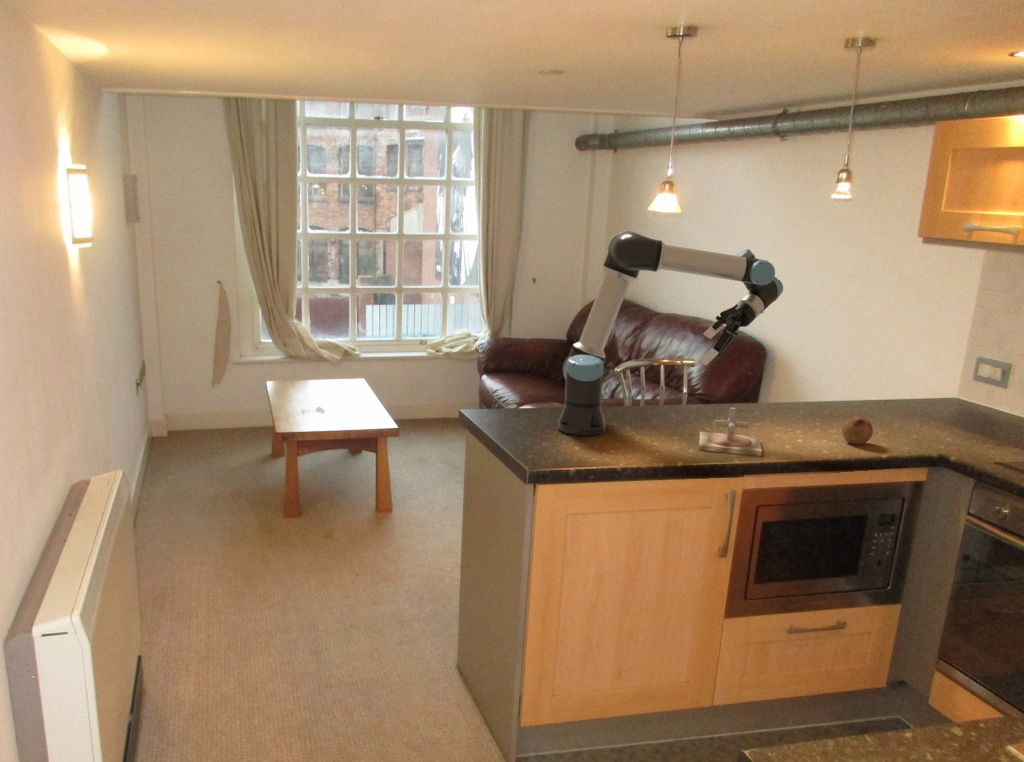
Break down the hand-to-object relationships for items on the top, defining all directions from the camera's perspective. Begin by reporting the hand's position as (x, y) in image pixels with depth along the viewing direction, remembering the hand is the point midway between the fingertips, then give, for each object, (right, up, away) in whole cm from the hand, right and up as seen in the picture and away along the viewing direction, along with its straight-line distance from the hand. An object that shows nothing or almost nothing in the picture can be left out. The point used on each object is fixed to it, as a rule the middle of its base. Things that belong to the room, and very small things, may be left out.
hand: (704, 349), depth 253 cm
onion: (+48, -30, +3) cm, 57 cm away
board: (+7, -30, -4) cm, 31 cm away
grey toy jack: (+7, -28, -5) cm, 29 cm away
